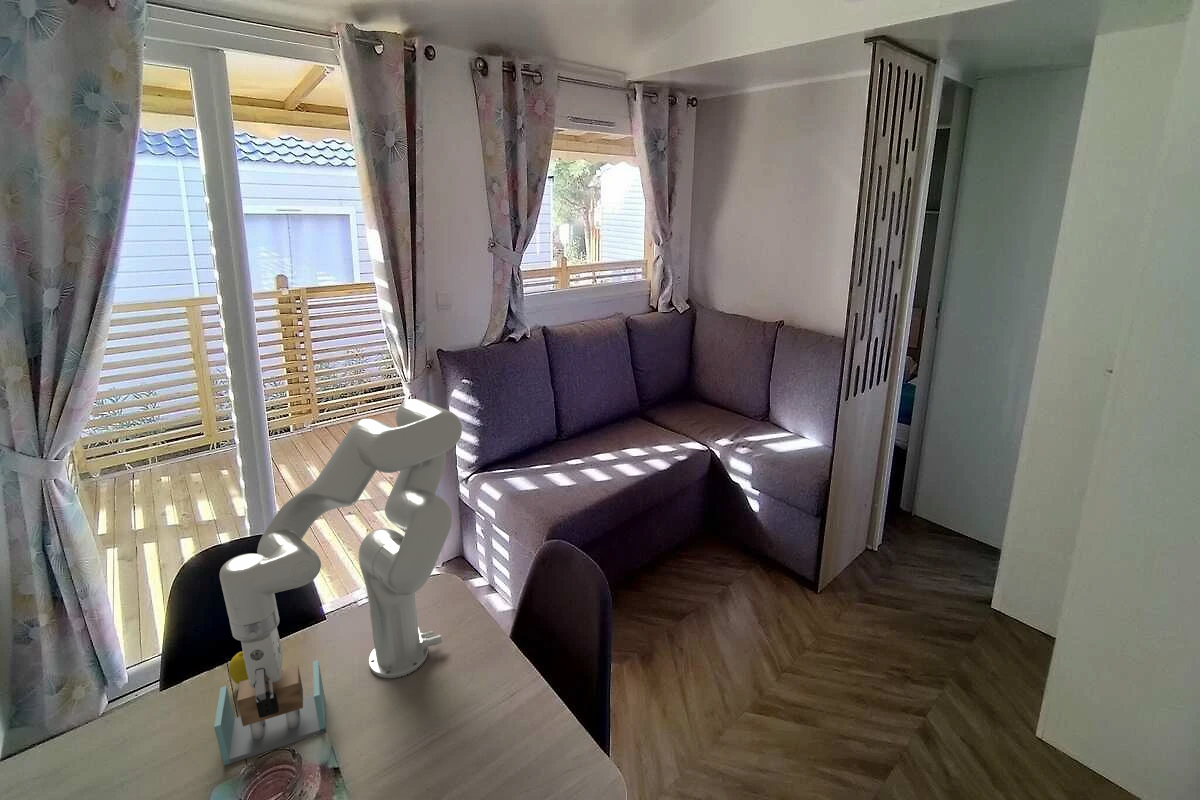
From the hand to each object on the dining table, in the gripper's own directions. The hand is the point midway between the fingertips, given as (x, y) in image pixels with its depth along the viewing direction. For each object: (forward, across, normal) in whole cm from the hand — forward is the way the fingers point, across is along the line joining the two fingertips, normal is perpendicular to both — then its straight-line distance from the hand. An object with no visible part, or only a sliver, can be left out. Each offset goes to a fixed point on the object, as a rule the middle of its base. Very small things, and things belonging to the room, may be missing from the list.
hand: (270, 695), depth 113 cm
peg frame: (+8, 0, 0) cm, 8 cm away
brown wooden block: (+3, 0, 0) cm, 3 cm away
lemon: (+8, +16, +6) cm, 19 cm away
